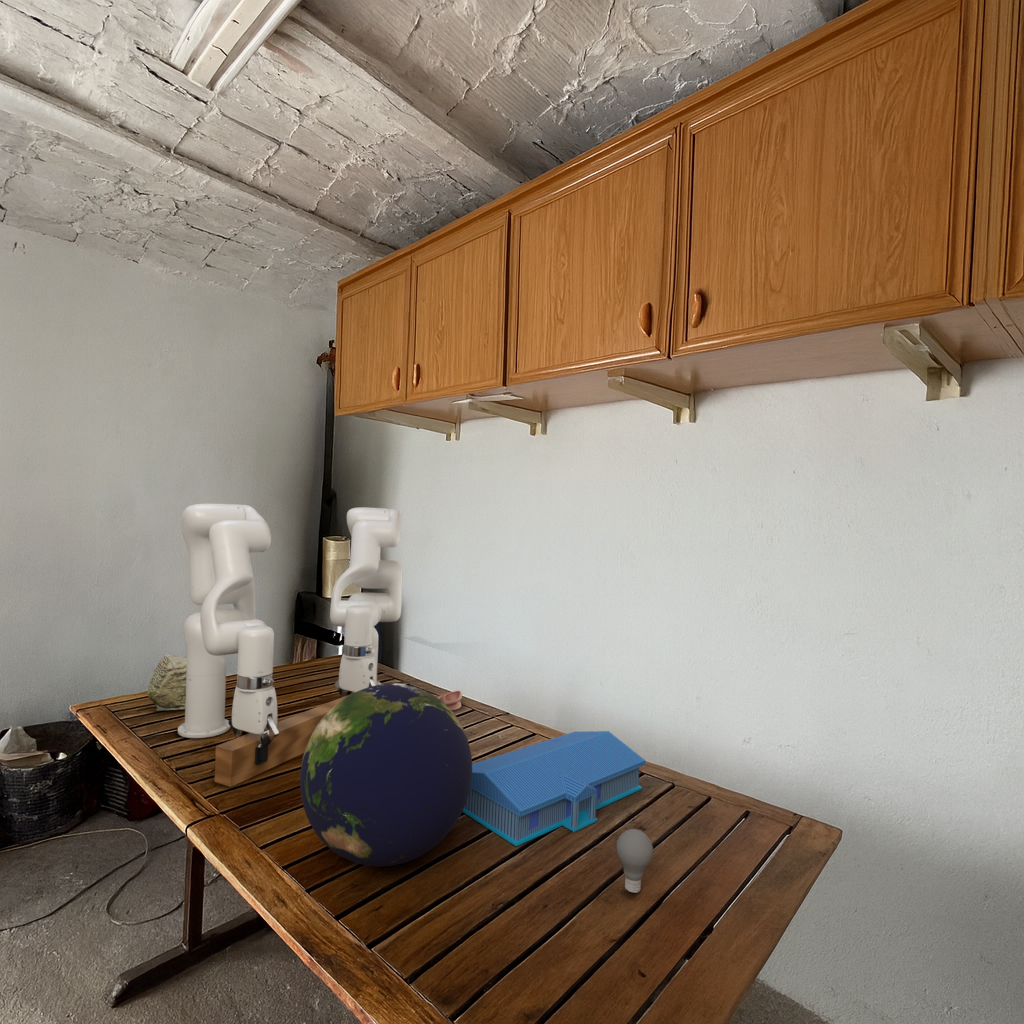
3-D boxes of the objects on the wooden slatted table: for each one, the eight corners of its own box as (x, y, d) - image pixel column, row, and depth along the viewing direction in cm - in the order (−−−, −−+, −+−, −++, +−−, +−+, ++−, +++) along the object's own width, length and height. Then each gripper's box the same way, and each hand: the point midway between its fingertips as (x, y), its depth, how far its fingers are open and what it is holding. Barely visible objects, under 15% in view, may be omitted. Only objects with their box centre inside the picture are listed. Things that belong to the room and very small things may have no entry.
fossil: (144, 707, 182) (145, 655, 182) (212, 696, 194) (213, 647, 194) (151, 716, 175) (153, 662, 175) (221, 703, 188) (223, 653, 188)
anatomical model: (412, 696, 190) (425, 685, 201) (412, 709, 190) (424, 698, 201) (455, 701, 187) (465, 690, 199) (454, 714, 188) (465, 702, 199)
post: (230, 787, 136) (231, 750, 136) (214, 781, 138) (215, 746, 138) (380, 717, 183) (381, 690, 183) (366, 714, 185) (367, 687, 185)
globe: (257, 876, 105) (264, 696, 104) (364, 800, 133) (370, 657, 132) (413, 929, 94) (422, 728, 93) (494, 834, 121) (501, 678, 121)
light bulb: (610, 879, 108) (613, 822, 108) (644, 879, 109) (647, 822, 109) (619, 902, 102) (622, 840, 102) (655, 901, 103) (658, 840, 103)
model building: (528, 854, 115) (530, 799, 115) (447, 802, 133) (449, 755, 133) (654, 793, 142) (656, 749, 141) (573, 757, 160) (574, 718, 159)
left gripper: (295, 683, 144) (292, 762, 144) (241, 671, 151) (238, 746, 152) (269, 691, 137) (266, 774, 137) (214, 678, 144) (211, 757, 145)
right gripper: (391, 652, 176) (388, 716, 176) (343, 643, 183) (340, 705, 184) (374, 657, 169) (371, 725, 170) (324, 648, 177) (322, 713, 177)
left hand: (252, 759), depth 144 cm, fingers closed on post, 5 cm apart
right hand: (355, 714), depth 177 cm, fingers closed on post, 5 cm apart
